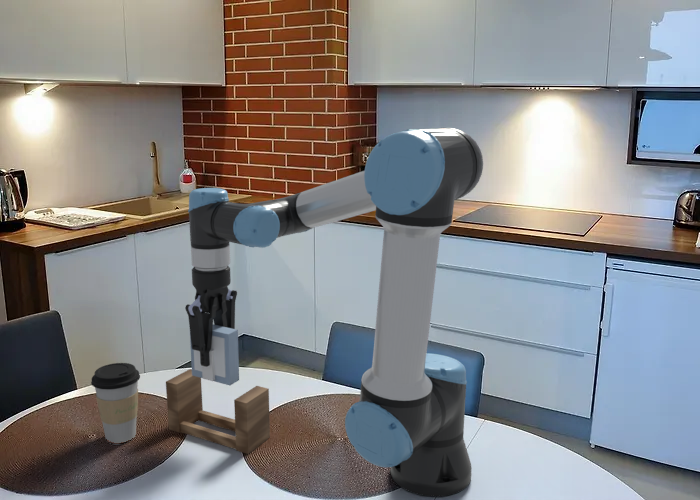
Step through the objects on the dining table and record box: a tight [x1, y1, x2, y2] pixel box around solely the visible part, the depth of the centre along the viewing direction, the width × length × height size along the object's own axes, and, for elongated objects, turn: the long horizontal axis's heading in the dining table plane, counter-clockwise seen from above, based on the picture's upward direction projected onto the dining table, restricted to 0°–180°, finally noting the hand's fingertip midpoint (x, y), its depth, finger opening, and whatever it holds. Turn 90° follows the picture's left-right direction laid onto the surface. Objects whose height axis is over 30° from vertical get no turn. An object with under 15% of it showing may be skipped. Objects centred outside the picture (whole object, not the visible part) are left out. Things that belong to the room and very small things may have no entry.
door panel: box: [189, 323, 240, 386], centre depth 133 cm, size 10×3×11 cm, turn 62°
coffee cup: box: [90, 362, 141, 443], centre depth 134 cm, size 9×9×15 cm
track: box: [165, 368, 271, 455], centre depth 136 cm, size 21×8×11 cm, turn 62°
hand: (215, 375), depth 134 cm, fingers closed on door panel, 3 cm apart
